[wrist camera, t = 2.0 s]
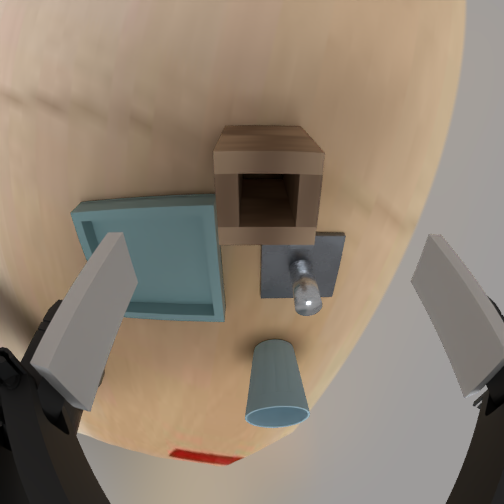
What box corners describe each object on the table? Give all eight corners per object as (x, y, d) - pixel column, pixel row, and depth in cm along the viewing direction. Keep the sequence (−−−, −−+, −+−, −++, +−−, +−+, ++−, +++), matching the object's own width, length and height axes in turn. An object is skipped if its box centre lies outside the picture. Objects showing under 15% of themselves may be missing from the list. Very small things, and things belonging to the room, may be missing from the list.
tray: (116, 302, 32) (110, 316, 31) (81, 201, 24) (70, 212, 22) (225, 306, 32) (224, 321, 31) (216, 193, 24) (213, 205, 22)
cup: (253, 329, 35) (254, 404, 26) (309, 337, 36) (320, 407, 28) (240, 360, 39) (239, 425, 31) (290, 366, 40) (296, 428, 32)
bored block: (227, 193, 24) (219, 245, 18) (225, 126, 21) (212, 151, 14) (296, 193, 24) (314, 244, 18) (301, 126, 21) (324, 152, 14)
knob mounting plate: (260, 294, 31) (262, 335, 27) (261, 232, 27) (264, 272, 22) (330, 292, 31) (341, 332, 27) (344, 232, 27) (362, 270, 22)
